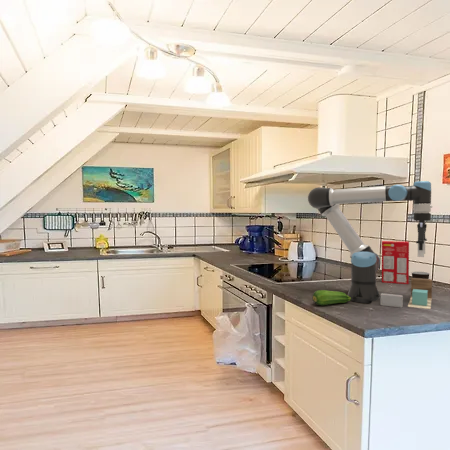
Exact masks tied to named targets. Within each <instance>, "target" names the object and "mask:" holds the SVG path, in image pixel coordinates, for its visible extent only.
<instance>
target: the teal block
mask: <svg viewBox="0 0 450 450" xmlns="http://www.w3.org/2000/svg"><path fill="white" fill-rule="evenodd" d="M427 294H428V290H419V289H413V291H412V304H413V305H422V306H427Z"/></svg>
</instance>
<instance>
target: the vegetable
mask: <svg viewBox="0 0 450 450" xmlns="http://www.w3.org/2000/svg"><path fill="white" fill-rule="evenodd" d="M350 299H351V297H349V296H348V294H346V293H345V292H342V291H336V290H328V289H327V290H326V289H324V290H323V289H320V290H318V289H317V290H316V291H314V292H313V294H312V301H313V303H314V304H315V305H318V306H322V307H324V306H330V305H333V304H335V305H336V304H346V303H347V302H350V301H351V300H350Z"/></svg>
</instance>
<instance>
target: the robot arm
mask: <svg viewBox="0 0 450 450" xmlns="http://www.w3.org/2000/svg"><path fill="white" fill-rule="evenodd" d="M409 201H410V202H411V201H412V202H413V212H414V213H413V221H414V222H415V221H417V222H418V223H417V225H416V226H417V227H416V229H417V241H416V242H415V243H416V244H417V257H418V258H424V257H425V254H426V242H427V241H428V239H427V238H426V231H427V227H428V226H427V223H426V222H429V221H431V219H432V214H431V211H432V208H433V206H432V183H431V181H429V180H428V181H427V180H426V181H425V180H424V181H422V180H421V181H414V183H413V185H402V184H394V185H392V184H391V185H382V186H381V185H380V186H379V185H378V186H367V187H354V188H353V187H352V188H337V189H335V188H334V189H333V188H332V187H315V188H312V189H311V190H310V191H309V193H308V195H307V202H308V203H309V205H310V206H311V207H312V208H314V209H317V210H318V212H319V213H320V215H321V216H323V217H325V218H326V219H327V221H328V222H329V223H330V225H331V227H332V228H333V229H334V231H335V233H336V234H337V236H339V238H340V239H341V241H342V242H343V244H344V245H345V246H346V248H347V250H348V251H349V252H350V254H349V258H350V262H351V263H350V264H351V266H350V267H351V268H350V272H351V274H350V275H351V280H350V281H351V284H350V287H349V290H348V292H347V295H348V296H349V297H351V299H350V301H352V302H356V303H362V304H372V302H376V301H379V300H381V294H380V293H379V289H378V286H377V271H378V270H379V269H380V267H381V259H380V256H379V255H378V254H377V253H376V252H374V250H373V249H372V247H371V246H370V245H368V244H365V243H364V241H363V239H361V237H360V235H359V234H358V232H357V231H356V230H355V228H354V227H353V226H352V224H351V223H350V221H349V220H348V218H347V217H346V215H345V214H344V212H343V211H342V210H341V208H340V205H344V204H360V203H361V204H362V203H379V202H381V203H382V202H383V203H384V202H409Z"/></svg>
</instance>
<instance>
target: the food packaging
mask: <svg viewBox="0 0 450 450" xmlns="http://www.w3.org/2000/svg"><path fill="white" fill-rule="evenodd" d="M409 271H410V242H409V241H396V240H395V241H390V240H381V283H382V284H383V283H385V284H399V285H400V284H402V285H409V284H410V280H409V276H410V272H409Z"/></svg>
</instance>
